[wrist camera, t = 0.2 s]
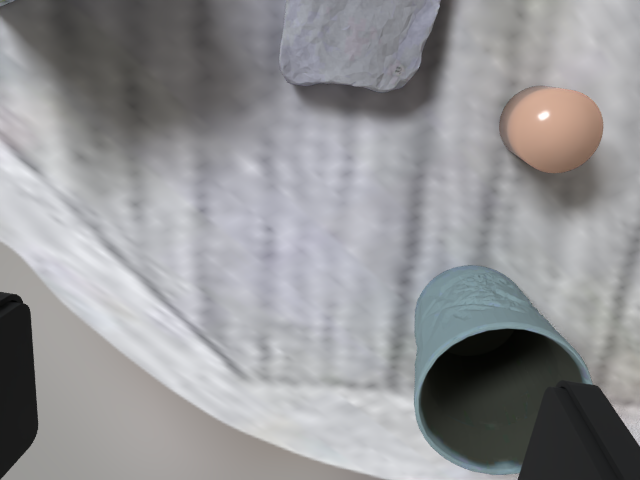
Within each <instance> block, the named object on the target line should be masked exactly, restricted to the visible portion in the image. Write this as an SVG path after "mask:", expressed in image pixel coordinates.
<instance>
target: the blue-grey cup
mask: <svg viewBox="0 0 640 480" xmlns="http://www.w3.org/2000/svg"><path fill="white" fill-rule="evenodd" d="M415 338H416V344H417V354H416V356H417V357H416V361H415V391H414V407H415V414H416V420H417V423H418V426H419V429H420V430H421V432H422V434H423V436H424V438H425V439H426V441H427V442H428V443H429V444H430V446H431V447H432V448H433V449H434V450H435V451H437V452H438V453H439V454H440V455H441V456H443V457H444V458H445V459H447V460H449V461H450V462H452V463H454V464H456V465H458V466H460V467H463V468H465V469H468V470H471V471H474V472H480V473H485V474H491V475H506V474H517V473H520V470H521V467H522V464H523V461H524V457H525V454H526V451H527V447H528V444H529V441H530V438H531V434H532V431H533V428H534V425H535V421H536V418H537V415H538V411H539V408H540V405H541V402H542V398H543V395H544V392H545V390H546V389H547V388H548V387H556V385H557V384H558V382H559V381H561V380H566V381H572V382H578V383H585V384H591V385H593V384H592V381H591V377H590V374H589V371H588V368H587V366H586V365H585V363H584V361H583V359H582V358H581V357H580V355H579V354H578V353H577V351H576V350H575V349H574V348H573V347H572V346H571V345H570V344H569V343H568V342H567V341H566V340H565V339H564V338H563V337H562V336H561V335H560V334H559V333H558V332H557V331H556V330H555V329H554V328H553V327H552V325H551V324H550V323H549V322H548V321H547V320H546V319H545V318H544V317H543V316H542V315H540V314H539V312H538V311H537V309H536V308H534V307H533V306H532V304H531V303H530V301H529V299H528V298H527V297H526V296H525V295H524V294H523V293H522V292H521V290H520V289H519V288H518V287H517V285H516V284H515V283H514V282H513V281H512V280H510V279H509V278H508V277H506V276H505V275H504V274H502V273H500V272H498V271H496V270H493V269H491V268H487V267H483V266H473V265H469V266H461V267H456V268H452V269H450V270H447V271H445V272H443V273H441V274H440V275H438V276H437V277H435V278H434V279H433V280H432V281H431V282H430V283H429V284H428V285H427V286H426V287H425V289H424V290H423V292H422V293H421V295H420V297H419V299H418V301H417V305H416V309H415Z"/></svg>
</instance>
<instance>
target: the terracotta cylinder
mask: <svg viewBox="0 0 640 480" xmlns="http://www.w3.org/2000/svg"><path fill="white" fill-rule="evenodd" d="M499 131H500V136H501V139H502V141H503V143H504V145H505V146H506V147H507V148H508V149H509V150H510V151H511V152H512V153H513V154H515V155H516V156H518V157H519V158H521V159H522V160H524V161H525V162H526V163H528V164H529V165H531V166H532V167H534V168H536V169H537V170H540V171H543V172H547V173H562V172H567V171H570V170H573V169H575V168H577V167H579V166H580V165H582V164H583V163H585V162H586V161H587V160H588V159H589V158H590V157H591V156H592V155H593V154H594V152H595V151H596V149H597V147H598V146H599V143H600V141H601V138H602V134H603V119H602V115H601V112H600V110H599V108H598V106H597V105H596V104H595V102H594V101H593V100H592V99H590V98H589V97H588V96H586V95H584V94H583V93H580V92H577V91H573V90H567V89H561V88H555V87H549V86H534V87H530V88H527V89H524V90H522V91H520V92H519V93H517V94H516V95H515V96H513V97H512V98H511V99H510V100H509V102H508V103H507V104H506V106H505V107H504V109H503V111H502V114H501V117H500V122H499Z"/></svg>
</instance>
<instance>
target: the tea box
mask: <svg viewBox="0 0 640 480" xmlns="http://www.w3.org/2000/svg"><path fill="white" fill-rule="evenodd" d="M13 1H15V0H0V6H3V5H5V4H8V3H10V2H13Z"/></svg>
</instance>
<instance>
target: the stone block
mask: <svg viewBox="0 0 640 480" xmlns="http://www.w3.org/2000/svg"><path fill="white" fill-rule="evenodd" d="M440 2H441V0H286V8H285V17H284V27H283V34H282V39H281V44H280V55H279V65H280V70H281V72H282V74H283V76H284V77H285V79H286V81H287V82H288V83H290V84H296V85H301V86H311V85H314V84H319V83H326V84H330V83H333V84H342V85H344V84H345V85H352V86H355V87H364V88H367V89H370V90H372V91H376V92H379V93H382V92H389V91H391V90H393V89H399V88H402V87H403V86H404V85H405V84H406V83H407V82H408V81H409V80H410V79H411V78H412V77H413V75H414V74H415V73H416V72H417V71H418V69H419V66H420V63H421V59H422V51H423V49H424V46H425V43H426V41H427V38H428V37H429V35H430V33H431V31H432V29H433V25H434V22H435V19H436V17H437V14H438V10H439V7H440Z"/></svg>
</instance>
